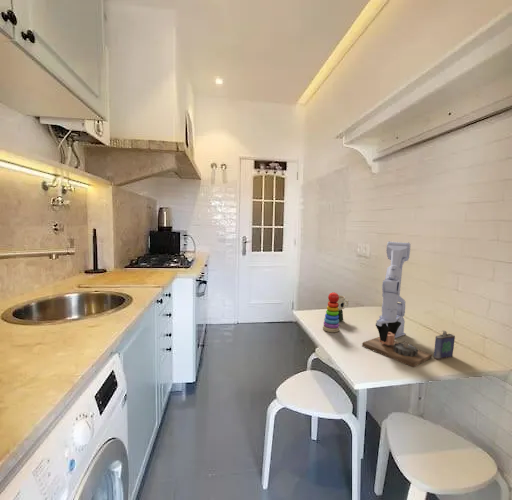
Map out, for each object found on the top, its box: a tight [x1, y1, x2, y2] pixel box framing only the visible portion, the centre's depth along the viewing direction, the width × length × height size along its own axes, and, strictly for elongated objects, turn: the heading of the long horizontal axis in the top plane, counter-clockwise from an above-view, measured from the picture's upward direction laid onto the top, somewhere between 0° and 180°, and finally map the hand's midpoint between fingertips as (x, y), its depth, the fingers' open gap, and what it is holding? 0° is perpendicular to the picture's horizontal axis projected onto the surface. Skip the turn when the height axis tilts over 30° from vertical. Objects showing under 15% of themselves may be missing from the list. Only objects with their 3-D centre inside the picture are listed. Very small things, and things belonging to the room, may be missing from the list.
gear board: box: [361, 336, 433, 368], centre depth 124 cm, size 14×22×6 cm, turn 35°
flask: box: [433, 330, 456, 360], centre depth 120 cm, size 9×3×11 cm, turn 109°
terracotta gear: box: [379, 332, 396, 345], centre depth 128 cm, size 6×6×4 cm
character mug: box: [327, 294, 349, 322], centre depth 161 cm, size 11×7×13 cm, turn 88°
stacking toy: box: [322, 292, 340, 333], centre depth 147 cm, size 8×8×19 cm
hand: (387, 339), depth 127 cm, fingers closed on terracotta gear, 6 cm apart
